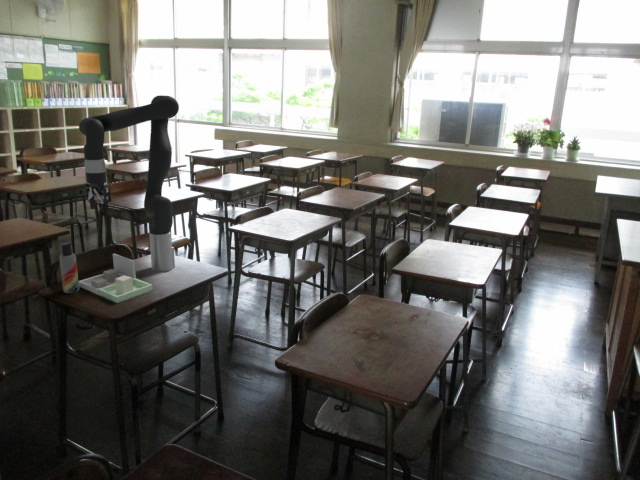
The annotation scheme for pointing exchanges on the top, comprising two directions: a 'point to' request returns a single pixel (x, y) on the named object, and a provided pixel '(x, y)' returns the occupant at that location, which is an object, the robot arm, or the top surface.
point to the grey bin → (88, 286)
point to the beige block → (124, 284)
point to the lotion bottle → (68, 269)
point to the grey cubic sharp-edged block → (110, 275)
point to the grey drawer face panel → (124, 265)
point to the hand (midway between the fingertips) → (99, 210)
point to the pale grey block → (99, 283)
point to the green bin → (138, 290)
